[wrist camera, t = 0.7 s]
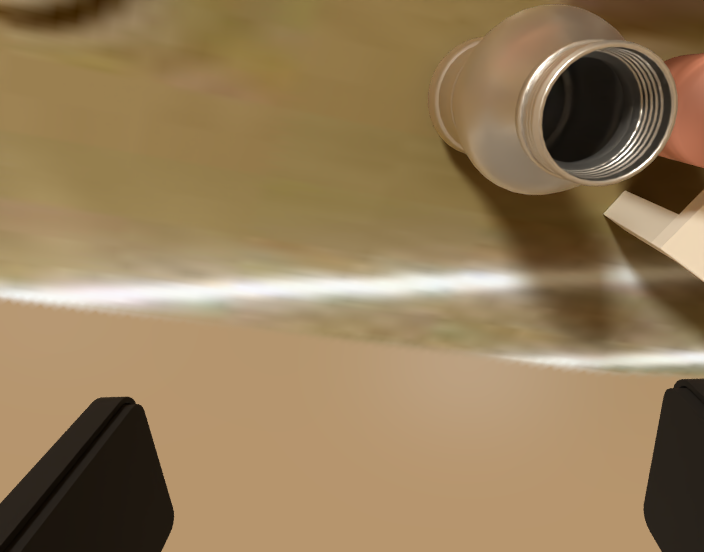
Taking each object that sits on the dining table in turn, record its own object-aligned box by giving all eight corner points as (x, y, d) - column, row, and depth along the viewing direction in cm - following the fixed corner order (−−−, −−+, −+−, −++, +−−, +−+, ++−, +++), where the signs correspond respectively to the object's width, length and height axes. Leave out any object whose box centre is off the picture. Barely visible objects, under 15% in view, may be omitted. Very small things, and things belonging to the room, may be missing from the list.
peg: (625, 42, 30) (752, 21, 19) (684, 91, 30) (836, 96, 20) (567, 113, 31) (655, 129, 21) (625, 158, 32) (736, 194, 22)
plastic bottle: (452, 168, 33) (539, 278, 14) (406, 75, 31) (436, 64, 12) (543, 118, 31) (770, 170, 13) (500, 17, 30) (695, -93, 11)
